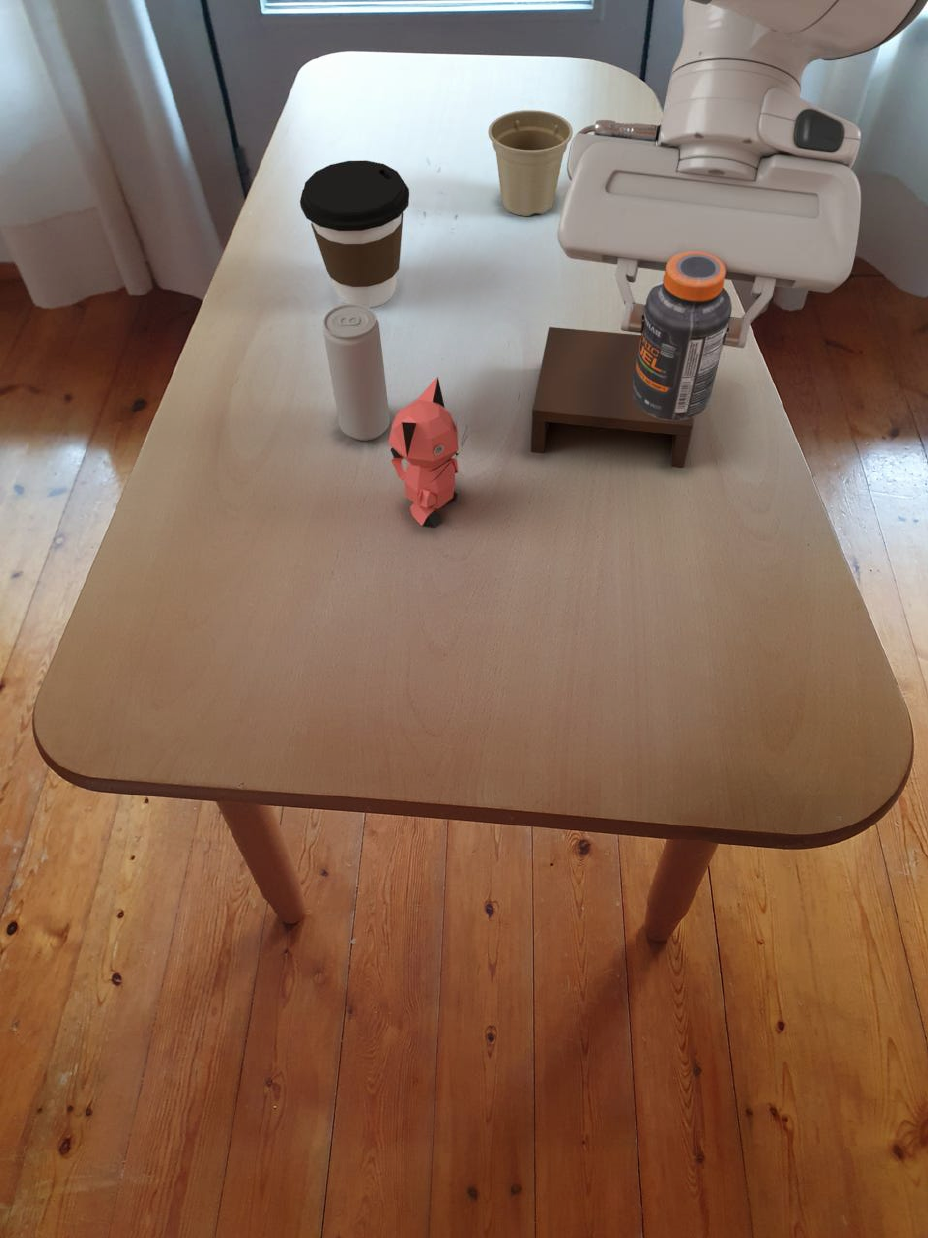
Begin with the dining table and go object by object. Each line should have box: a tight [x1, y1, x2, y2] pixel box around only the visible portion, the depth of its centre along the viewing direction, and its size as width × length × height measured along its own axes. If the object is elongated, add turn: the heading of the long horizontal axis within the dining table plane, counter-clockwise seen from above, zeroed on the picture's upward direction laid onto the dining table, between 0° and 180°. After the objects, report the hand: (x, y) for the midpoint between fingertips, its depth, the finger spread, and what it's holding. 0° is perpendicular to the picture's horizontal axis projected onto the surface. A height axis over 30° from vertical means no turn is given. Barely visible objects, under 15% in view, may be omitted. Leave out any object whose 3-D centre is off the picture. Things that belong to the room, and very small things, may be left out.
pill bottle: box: [632, 251, 733, 420], centre depth 68 cm, size 6×6×11 cm
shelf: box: [530, 326, 694, 469], centre depth 88 cm, size 14×12×5 cm
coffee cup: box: [299, 159, 410, 309], centre depth 98 cm, size 11×11×12 cm
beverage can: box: [322, 303, 391, 442], centre depth 85 cm, size 5×5×12 cm
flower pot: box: [488, 109, 574, 217], centre depth 109 cm, size 9×9×9 cm
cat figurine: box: [388, 376, 468, 529], centre depth 79 cm, size 7×7×12 cm
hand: (682, 338), depth 67 cm, fingers closed on pill bottle, 6 cm apart
